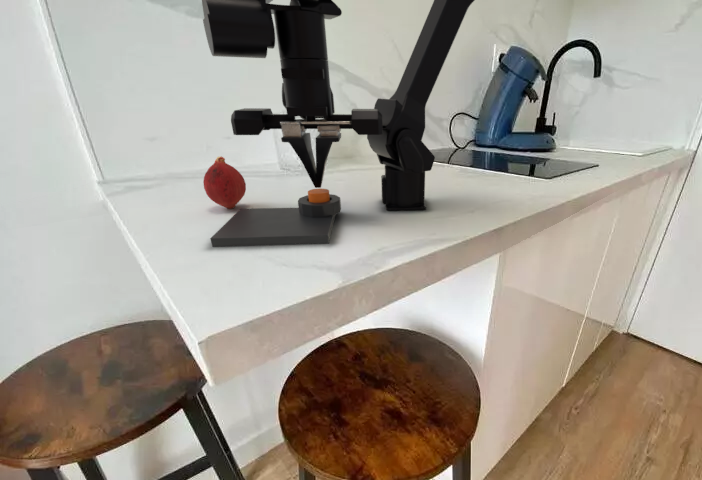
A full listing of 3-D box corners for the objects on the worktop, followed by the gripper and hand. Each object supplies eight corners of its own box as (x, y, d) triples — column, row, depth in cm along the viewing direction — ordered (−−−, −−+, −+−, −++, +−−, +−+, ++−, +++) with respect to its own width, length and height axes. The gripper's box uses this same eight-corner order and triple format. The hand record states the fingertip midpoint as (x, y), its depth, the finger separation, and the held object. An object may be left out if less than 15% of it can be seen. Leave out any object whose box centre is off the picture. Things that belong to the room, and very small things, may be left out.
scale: (342, 212, 57) (341, 193, 56) (336, 244, 46) (334, 221, 44) (244, 214, 56) (239, 195, 54) (212, 247, 45) (206, 224, 43)
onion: (235, 215, 55) (222, 161, 51) (201, 213, 56) (187, 159, 52) (256, 204, 60) (247, 154, 56) (225, 202, 61) (214, 152, 57)
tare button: (330, 198, 55) (329, 188, 54) (329, 204, 52) (328, 193, 51) (310, 198, 54) (309, 188, 54) (307, 204, 52) (306, 193, 51)
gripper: (378, 64, 53) (381, 174, 60) (245, 62, 51) (265, 175, 58) (381, 60, 43) (384, 191, 50) (216, 57, 41) (244, 194, 49)
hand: (318, 187), depth 52 cm, fingers closed
